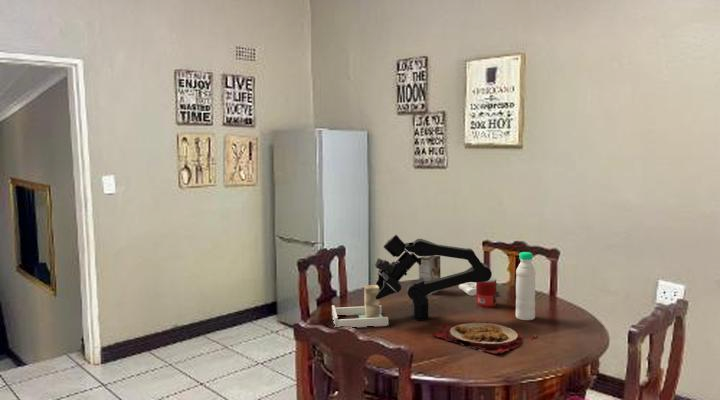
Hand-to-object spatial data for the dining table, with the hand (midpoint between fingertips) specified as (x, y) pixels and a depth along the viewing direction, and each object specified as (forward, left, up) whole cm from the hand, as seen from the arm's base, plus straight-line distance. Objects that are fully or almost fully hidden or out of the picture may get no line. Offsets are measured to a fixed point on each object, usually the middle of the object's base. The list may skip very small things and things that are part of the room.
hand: (374, 295), depth 202 cm
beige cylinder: (0, +1, -9) cm, 9 cm away
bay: (+2, +6, -9) cm, 11 cm away
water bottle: (-27, -50, -9) cm, 58 cm away
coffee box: (+23, -41, -10) cm, 48 cm away
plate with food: (-35, -23, -10) cm, 43 cm away
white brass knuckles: (+12, -60, -10) cm, 62 cm away
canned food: (-6, -49, -10) cm, 51 cm away
